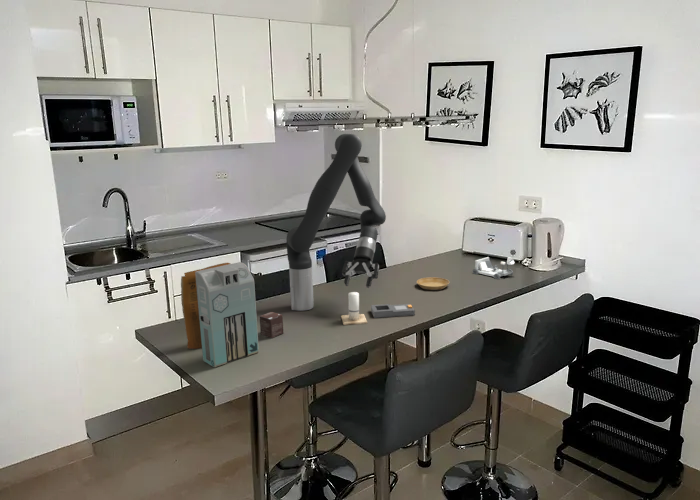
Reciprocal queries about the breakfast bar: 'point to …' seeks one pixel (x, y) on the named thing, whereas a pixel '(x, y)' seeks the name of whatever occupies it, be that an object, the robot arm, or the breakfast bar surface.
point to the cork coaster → (348, 322)
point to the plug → (353, 305)
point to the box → (271, 324)
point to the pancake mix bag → (192, 307)
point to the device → (227, 313)
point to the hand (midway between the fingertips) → (356, 286)
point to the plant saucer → (432, 283)
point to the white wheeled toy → (492, 268)
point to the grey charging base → (392, 310)
